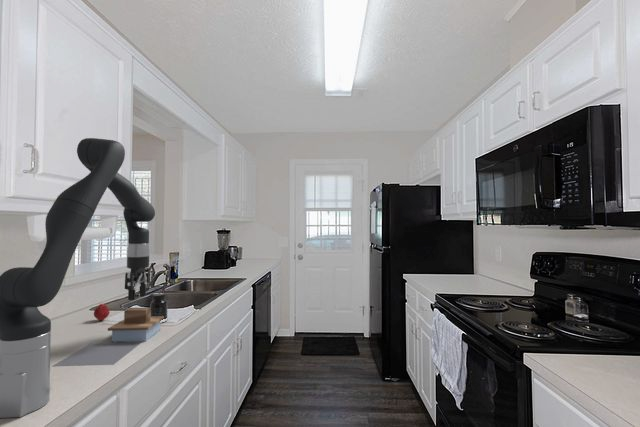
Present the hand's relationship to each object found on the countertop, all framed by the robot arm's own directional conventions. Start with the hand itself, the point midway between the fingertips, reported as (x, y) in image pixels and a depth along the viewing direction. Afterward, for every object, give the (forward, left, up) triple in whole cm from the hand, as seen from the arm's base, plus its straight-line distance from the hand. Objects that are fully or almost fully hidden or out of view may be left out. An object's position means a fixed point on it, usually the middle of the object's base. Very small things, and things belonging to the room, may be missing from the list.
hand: (137, 297), depth 124 cm
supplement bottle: (+19, 0, -15) cm, 24 cm away
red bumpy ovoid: (+22, +26, -15) cm, 37 cm away
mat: (-16, +4, -15) cm, 22 cm away
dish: (0, 0, -15) cm, 15 cm away
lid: (0, 0, -10) cm, 10 cm away
